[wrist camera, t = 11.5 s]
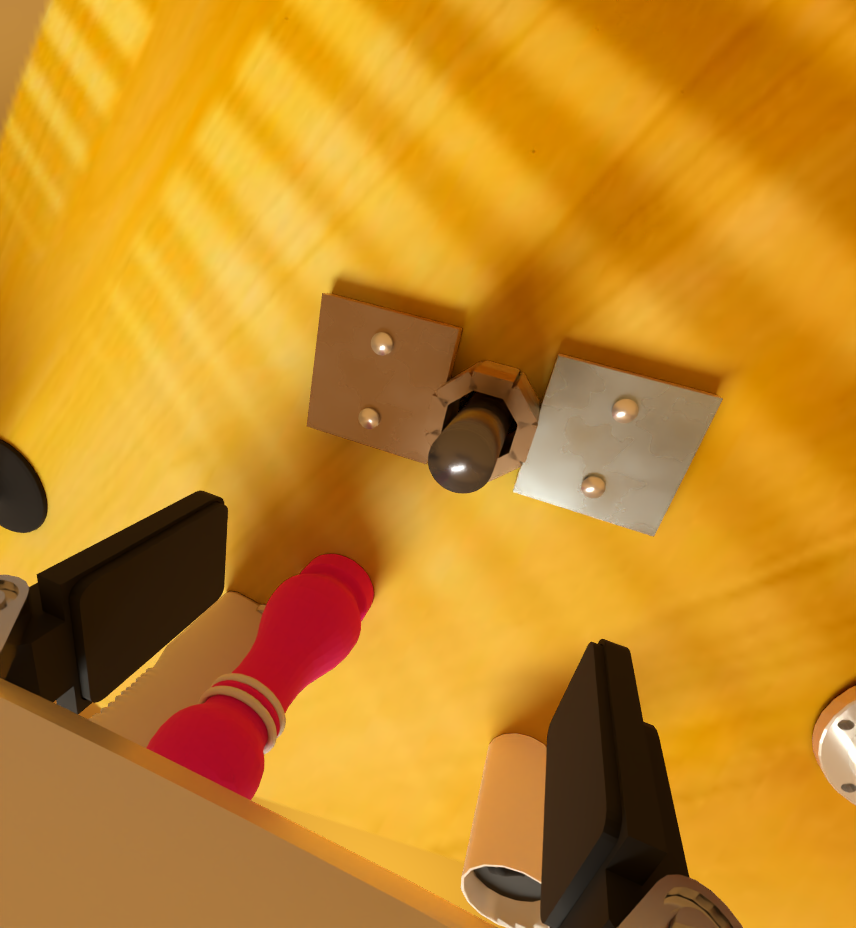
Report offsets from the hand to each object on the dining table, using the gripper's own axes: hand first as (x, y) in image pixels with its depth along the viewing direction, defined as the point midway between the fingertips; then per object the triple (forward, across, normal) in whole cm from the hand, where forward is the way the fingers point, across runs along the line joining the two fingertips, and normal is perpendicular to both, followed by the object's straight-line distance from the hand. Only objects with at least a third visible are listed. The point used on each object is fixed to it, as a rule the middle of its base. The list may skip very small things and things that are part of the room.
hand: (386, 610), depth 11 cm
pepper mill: (+20, +9, +18) cm, 28 cm away
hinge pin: (+20, +1, 0) cm, 20 cm away
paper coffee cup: (+21, -10, +29) cm, 37 cm away
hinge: (+20, +1, 0) cm, 20 cm away
